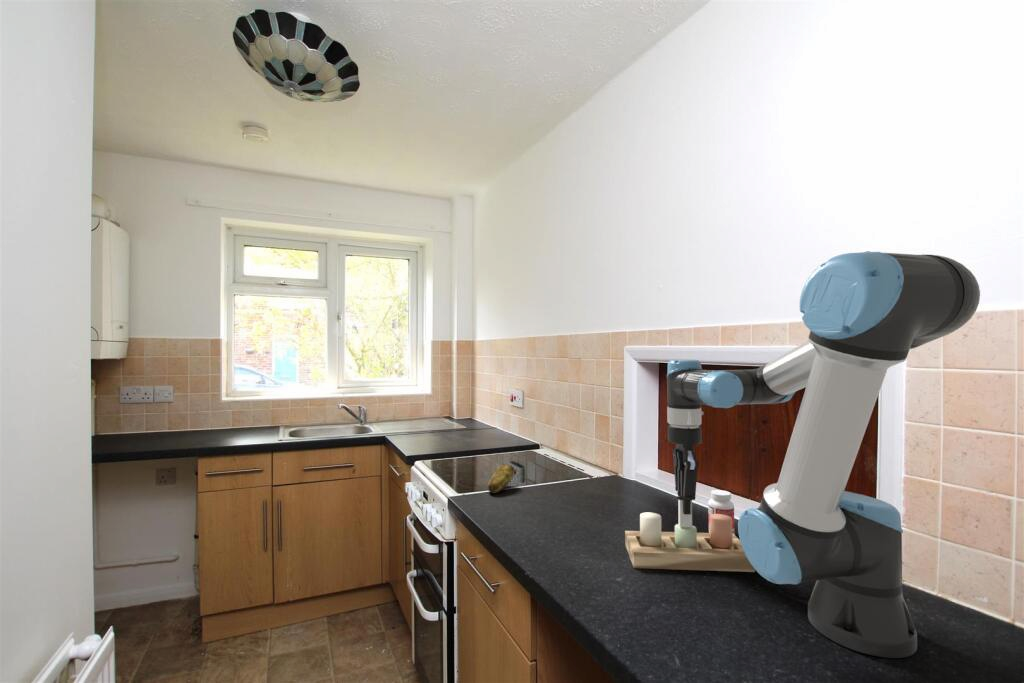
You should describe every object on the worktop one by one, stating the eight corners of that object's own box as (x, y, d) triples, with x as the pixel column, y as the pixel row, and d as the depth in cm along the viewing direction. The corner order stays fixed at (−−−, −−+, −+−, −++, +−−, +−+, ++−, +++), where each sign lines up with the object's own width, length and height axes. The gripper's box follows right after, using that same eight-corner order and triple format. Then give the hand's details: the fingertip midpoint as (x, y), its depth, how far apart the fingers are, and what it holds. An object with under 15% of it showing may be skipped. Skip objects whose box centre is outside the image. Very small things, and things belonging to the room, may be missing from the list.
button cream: (663, 546, 106) (663, 520, 106) (642, 545, 107) (642, 519, 107) (658, 537, 111) (658, 512, 111) (638, 537, 111) (638, 512, 111)
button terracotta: (735, 548, 105) (735, 521, 105) (714, 547, 105) (713, 521, 105) (727, 539, 110) (727, 514, 110) (707, 538, 110) (706, 513, 110)
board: (755, 571, 101) (754, 555, 101) (633, 568, 103) (633, 552, 103) (733, 548, 113) (733, 533, 113) (625, 544, 115) (625, 530, 115)
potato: (478, 491, 159) (478, 468, 159) (505, 483, 167) (505, 461, 168) (494, 497, 153) (494, 472, 153) (521, 488, 161) (521, 465, 162)
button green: (699, 558, 106) (699, 531, 106) (678, 557, 106) (677, 531, 106) (693, 549, 110) (693, 523, 110) (672, 548, 111) (672, 523, 111)
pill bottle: (739, 536, 120) (739, 493, 120) (725, 541, 117) (725, 497, 117) (717, 528, 125) (717, 487, 125) (703, 533, 122) (703, 491, 122)
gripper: (710, 430, 102) (711, 538, 101) (692, 420, 115) (693, 516, 114) (675, 430, 102) (676, 537, 102) (661, 420, 115) (662, 515, 115)
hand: (685, 526), depth 108 cm, fingers closed
